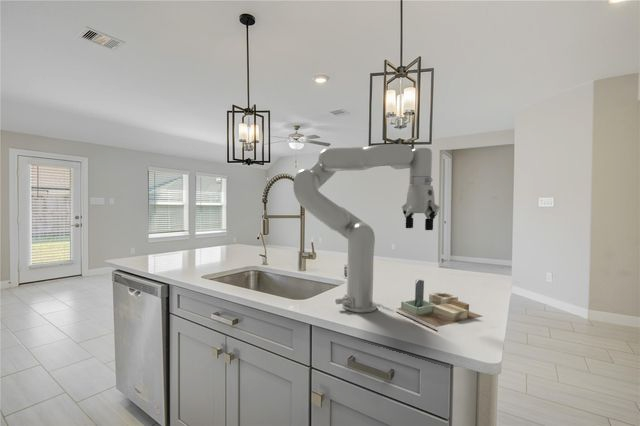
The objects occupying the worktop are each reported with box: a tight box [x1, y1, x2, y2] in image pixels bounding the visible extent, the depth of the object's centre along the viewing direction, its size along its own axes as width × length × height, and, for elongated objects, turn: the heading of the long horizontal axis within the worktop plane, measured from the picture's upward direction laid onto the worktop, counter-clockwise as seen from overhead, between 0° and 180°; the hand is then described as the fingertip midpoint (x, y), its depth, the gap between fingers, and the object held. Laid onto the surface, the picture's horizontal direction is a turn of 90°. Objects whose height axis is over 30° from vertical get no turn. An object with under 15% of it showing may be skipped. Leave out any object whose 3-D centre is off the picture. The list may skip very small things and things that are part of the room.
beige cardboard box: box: [433, 303, 468, 321], centre depth 102 cm, size 7×8×2 cm
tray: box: [400, 299, 436, 316], centre depth 106 cm, size 9×8×2 cm
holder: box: [428, 291, 459, 305], centre depth 111 cm, size 7×7×4 cm
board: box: [396, 299, 483, 332], centre depth 105 cm, size 22×18×6 cm
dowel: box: [414, 279, 425, 308], centre depth 106 cm, size 3×3×10 cm
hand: (418, 229), depth 110 cm, fingers open, 9 cm apart
